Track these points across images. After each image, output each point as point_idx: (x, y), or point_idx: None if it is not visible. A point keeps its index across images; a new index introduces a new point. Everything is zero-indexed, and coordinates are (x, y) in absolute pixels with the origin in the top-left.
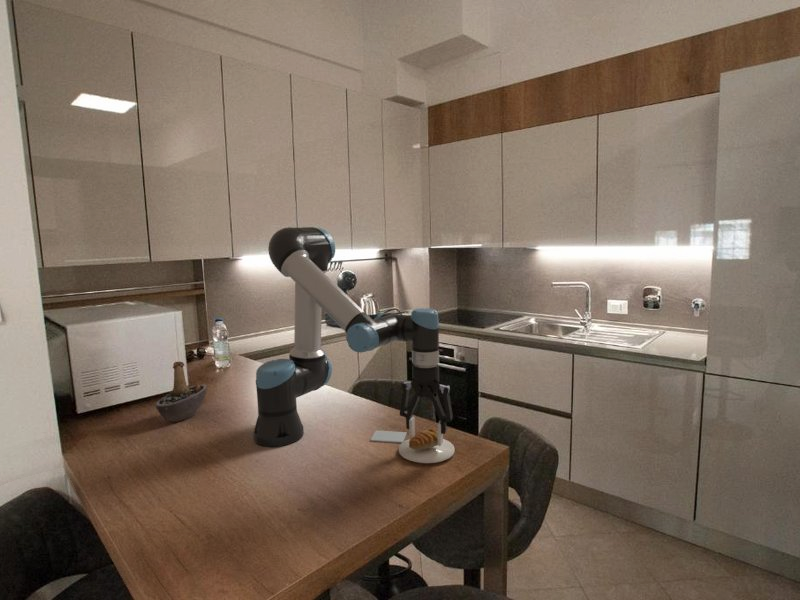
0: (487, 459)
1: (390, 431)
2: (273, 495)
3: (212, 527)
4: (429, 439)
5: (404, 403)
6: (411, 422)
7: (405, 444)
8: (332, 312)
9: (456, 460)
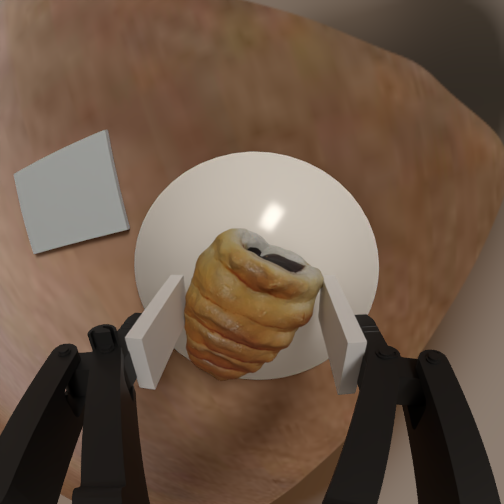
0: (475, 259)
1: (51, 155)
2: (77, 463)
3: None
4: (281, 349)
5: (66, 456)
6: (157, 379)
7: (154, 276)
8: None
9: (384, 302)
